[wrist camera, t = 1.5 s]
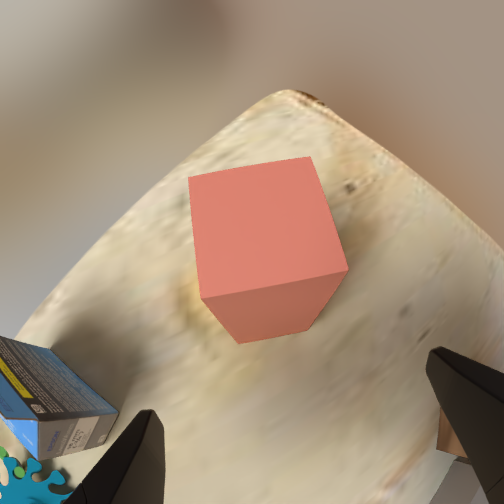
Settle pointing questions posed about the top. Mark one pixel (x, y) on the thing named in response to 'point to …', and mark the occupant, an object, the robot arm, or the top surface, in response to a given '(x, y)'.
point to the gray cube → (460, 487)
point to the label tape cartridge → (49, 403)
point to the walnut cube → (448, 438)
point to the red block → (265, 247)
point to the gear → (28, 483)
